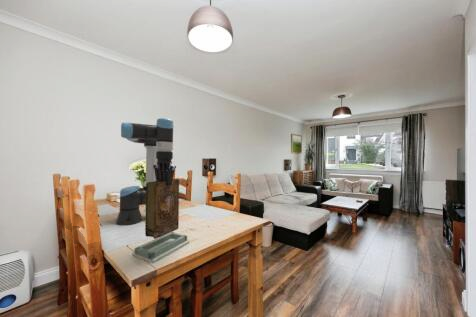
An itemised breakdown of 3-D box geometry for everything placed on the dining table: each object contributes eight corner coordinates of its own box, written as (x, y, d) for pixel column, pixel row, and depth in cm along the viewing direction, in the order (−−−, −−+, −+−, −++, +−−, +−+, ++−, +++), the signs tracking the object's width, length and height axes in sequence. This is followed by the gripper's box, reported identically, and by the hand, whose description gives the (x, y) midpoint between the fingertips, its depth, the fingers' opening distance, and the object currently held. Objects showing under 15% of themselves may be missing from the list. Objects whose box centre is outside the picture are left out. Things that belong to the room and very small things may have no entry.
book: (172, 226, 103) (172, 179, 103) (180, 228, 101) (180, 179, 101) (145, 237, 89) (145, 182, 89) (153, 239, 86) (154, 183, 86)
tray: (132, 254, 88) (132, 247, 88) (169, 237, 108) (169, 231, 108) (154, 263, 82) (154, 255, 82) (189, 242, 101) (189, 236, 101)
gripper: (148, 150, 94) (147, 199, 94) (168, 150, 88) (167, 203, 88) (161, 151, 101) (160, 197, 101) (180, 151, 95) (179, 200, 95)
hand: (163, 199), depth 95 cm, fingers closed
